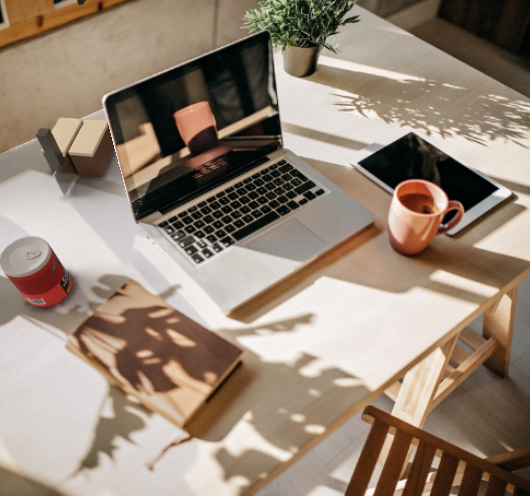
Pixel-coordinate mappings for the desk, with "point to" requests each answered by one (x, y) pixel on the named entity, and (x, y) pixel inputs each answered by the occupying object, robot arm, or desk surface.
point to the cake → (84, 145)
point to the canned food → (36, 271)
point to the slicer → (56, 160)
